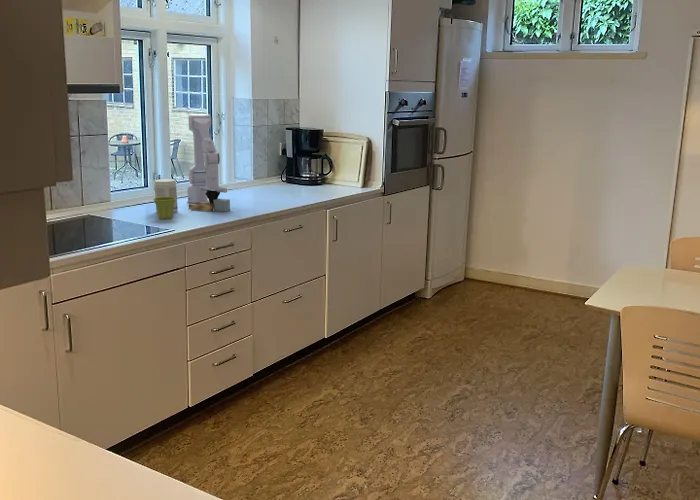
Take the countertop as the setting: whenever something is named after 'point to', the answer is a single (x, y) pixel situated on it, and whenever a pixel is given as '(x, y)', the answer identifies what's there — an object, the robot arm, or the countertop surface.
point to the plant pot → (165, 207)
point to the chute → (201, 206)
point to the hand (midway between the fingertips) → (213, 206)
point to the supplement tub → (166, 190)
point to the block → (221, 204)
